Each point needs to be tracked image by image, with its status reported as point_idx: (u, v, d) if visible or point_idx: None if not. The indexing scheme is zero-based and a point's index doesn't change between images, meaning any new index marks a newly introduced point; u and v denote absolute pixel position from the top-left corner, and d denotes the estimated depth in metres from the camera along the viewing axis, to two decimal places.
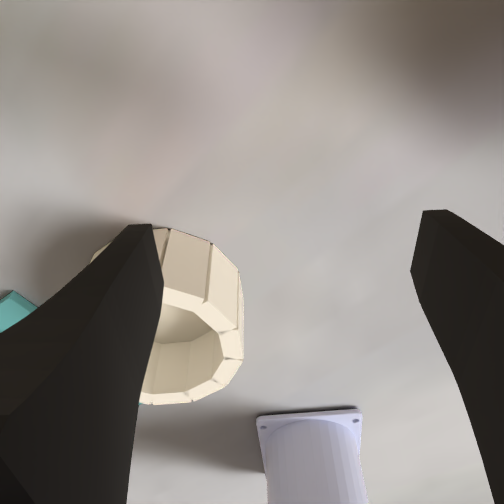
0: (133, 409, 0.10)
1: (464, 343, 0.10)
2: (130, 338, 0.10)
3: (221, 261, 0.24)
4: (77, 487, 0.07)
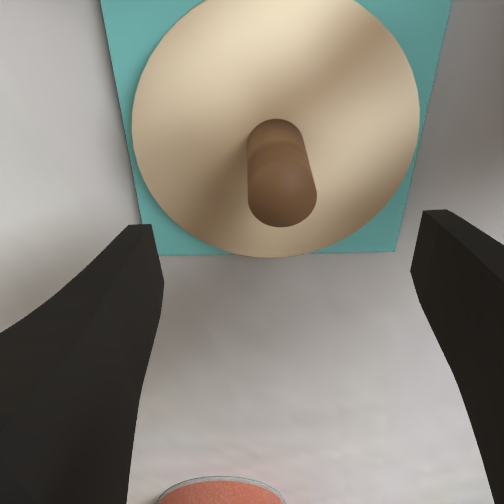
0: (133, 409, 0.10)
1: (464, 343, 0.10)
2: (130, 338, 0.10)
3: None
4: (77, 487, 0.07)
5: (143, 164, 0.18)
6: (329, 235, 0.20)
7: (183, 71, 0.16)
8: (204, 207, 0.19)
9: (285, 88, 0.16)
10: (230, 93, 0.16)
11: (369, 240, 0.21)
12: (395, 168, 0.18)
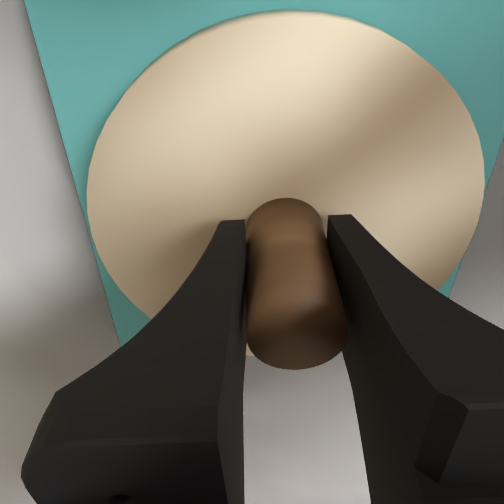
0: (242, 405, 0.10)
1: (353, 347, 0.10)
2: (239, 333, 0.10)
3: None
4: (234, 481, 0.07)
5: (106, 253, 0.13)
6: None
7: (154, 138, 0.11)
8: None
9: (298, 159, 0.11)
10: (222, 167, 0.12)
11: None
12: (445, 256, 0.13)
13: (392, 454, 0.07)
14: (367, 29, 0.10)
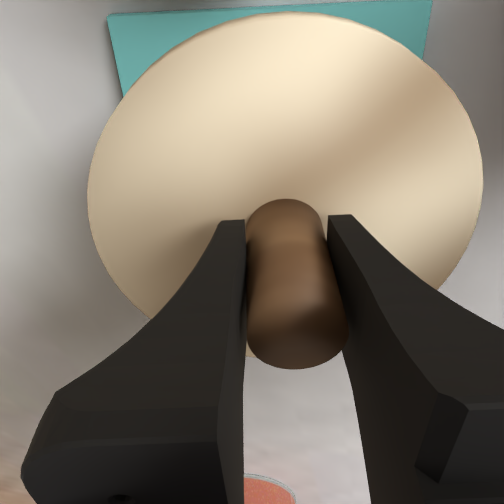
0: (241, 405, 0.10)
1: (353, 347, 0.10)
2: (239, 333, 0.10)
3: None
4: (234, 481, 0.07)
5: (106, 254, 0.13)
6: None
7: (155, 140, 0.11)
8: None
9: (298, 160, 0.12)
10: (222, 167, 0.12)
11: None
12: (444, 256, 0.13)
13: (392, 454, 0.07)
14: (366, 31, 0.10)
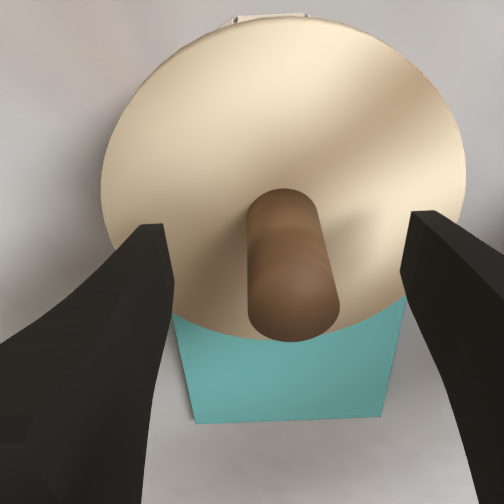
0: (146, 408, 0.10)
1: (450, 343, 0.10)
2: (143, 337, 0.10)
3: None
4: (96, 486, 0.07)
5: (117, 239, 0.14)
6: (346, 316, 0.16)
7: (164, 133, 0.12)
8: (194, 287, 0.15)
9: (295, 152, 0.13)
10: (225, 159, 0.13)
11: (361, 411, 0.29)
12: None
13: None
14: (357, 34, 0.11)
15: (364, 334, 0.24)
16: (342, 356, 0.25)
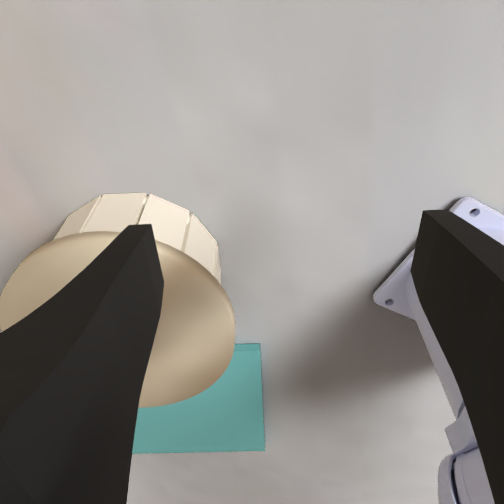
0: (132, 409, 0.10)
1: (464, 343, 0.10)
2: (129, 338, 0.10)
3: (113, 201, 0.22)
4: (77, 487, 0.07)
5: None
6: (180, 394, 0.24)
7: (33, 294, 0.20)
8: None
9: None
10: None
11: (247, 446, 0.36)
12: (222, 353, 0.22)
13: None
14: None
15: (235, 390, 0.32)
16: (223, 406, 0.33)
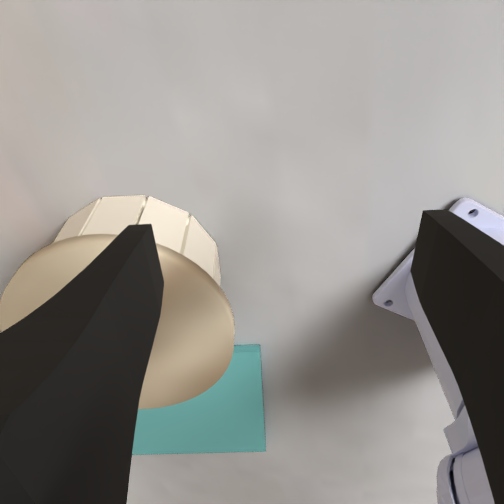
0: (133, 409, 0.10)
1: (464, 343, 0.10)
2: (130, 338, 0.10)
3: (113, 204, 0.22)
4: (77, 487, 0.07)
5: None
6: (180, 395, 0.24)
7: (33, 296, 0.20)
8: None
9: None
10: None
11: (248, 447, 0.36)
12: (221, 354, 0.22)
13: None
14: None
15: (236, 391, 0.32)
16: (223, 407, 0.33)
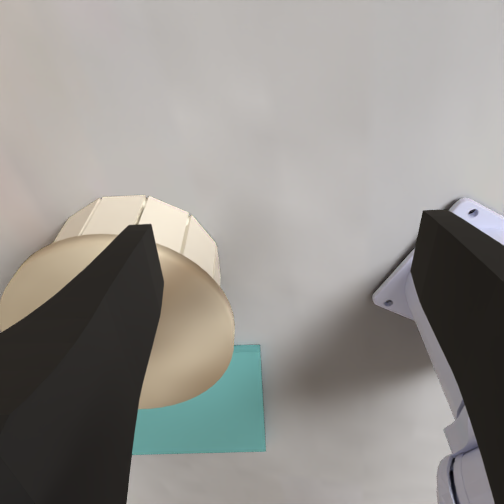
0: (133, 409, 0.10)
1: (464, 343, 0.10)
2: (130, 338, 0.10)
3: (113, 204, 0.22)
4: (77, 487, 0.07)
5: None
6: (180, 395, 0.24)
7: (33, 296, 0.20)
8: None
9: None
10: None
11: (248, 447, 0.36)
12: (221, 354, 0.22)
13: None
14: None
15: (236, 391, 0.32)
16: (223, 407, 0.33)
